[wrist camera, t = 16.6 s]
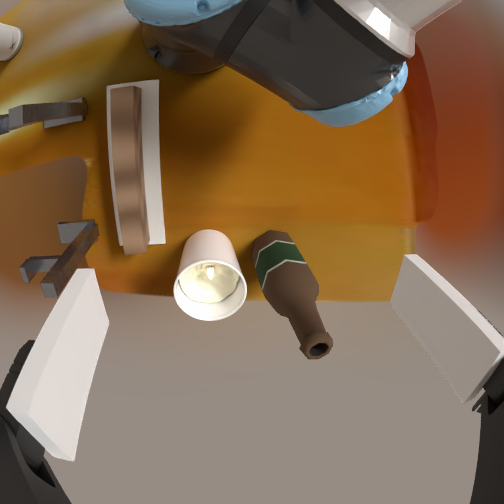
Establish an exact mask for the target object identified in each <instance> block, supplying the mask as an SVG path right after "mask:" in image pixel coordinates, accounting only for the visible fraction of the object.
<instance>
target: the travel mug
mask: <svg viewBox="0 0 504 504" xmlns="http://www.w3.org/2000/svg"><path fill="white" fill-rule="evenodd" d="M23 36H24V35H23V31H22V30H21V29H20V28H17V27H13V26H10V25H6V24H3V23H0V60H2V61H6V60H9V59H11V58H12V57H13V56H15V55H16V53H17V52H18V51H19V49H20V47H21V45H22V42H23Z"/></svg>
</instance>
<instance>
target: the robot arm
mask: <svg viewBox="0 0 504 504" xmlns="http://www.w3.org/2000/svg"><path fill="white" fill-rule="evenodd" d="M460 1H462V0H124V3H125V5H126V8H127V9H128V10H129V12H130V13H132V15H133V17H135V18H137V20H138V21H139V22H140V23H141V24H142V39H143V43H144V46H145V48H146V50H147V52H148V54H149V55H150V56H151V57H152V58H153V59H154V60H155V61H156V62H157V63H158V64H159V65H161V66H162V67H164V68H165V69H167V70H170V71H172V72H175V73H180V74H187V75H196V74H203V73H208V72H211V71H214V70H217V69H219V68H221V67H223V66H224V65H226V66H227V67H229V68H231V69H233V70H235V71H237V72H239V73H240V74H242V75H244V76H246V77H247V78H249V79H251V80H253V81H254V82H256V83H258V84H260V85H261V86H263V87H265V88H266V89H268V90H270V91H271V92H273V93H274V94H276V95H278V96H279V97H281V98H282V99H284V100H286V101H287V102H289V104H290V106H292V107H293V108H294V109H295V110H297V111H300V112H302V113H306V114H307V115H309V116H310V117H312V118H313V119H315V120H317V121H318V122H320V123H322V124H325V125H328V126H332V127H344V126H350V125H353V124H356V123H359V122H362V121H364V120H366V119H368V118H370V117H372V116H373V115H375V114H376V113H378V112H379V111H381V110H382V109H384V108H385V107H386V106H387V105H388V104H389V103H390V102H391V101H392V100H393V99H392V96H393V95H394V94H397V93H400V91H401V90H402V88H403V86H404V85H405V82H406V79H407V75H408V69H407V65H406V62H405V61H406V60H408V59H409V58H410V57H412V56H413V55H414V46H415V39H414V38H415V33H416V31H417V30H419V29H420V28H422V27H423V26H424V25H426V24H427V23H429V22H430V21H432V20H433V19H435V18H436V17H438V16H439V15H441V14H442V13H444V12H445V11H446V10H448V9H450V8H451V7H453V6H454V5H456V4H457V3H459V2H460ZM389 304H390V305H391V307H392V308H393V309H394V310H395V312H396V313H397V314H398V316H399V317H400V318H401V319H402V321H403V322H404V323H405V325H406V326H407V327H408V328H409V330H410V331H411V332H412V334H413V335H414V336H415V338H416V339H417V340H418V342H419V343H420V344H421V346H422V347H423V348H424V350H425V351H426V352H427V354H428V355H429V356H430V358H431V359H432V360H433V362H434V363H435V365H436V366H437V367H438V369H439V370H440V371H441V373H442V374H443V376H444V377H445V379H446V380H447V382H448V383H449V384H450V386H451V387H452V389H453V390H454V392H455V393H456V395H457V396H458V398H459V399H460V401H461V402H462V403H463V404H464V403H466V402H468V401H470V400H471V399H473V398H475V396H476V395H477V394H478V393H479V391H480V390H481V389H482V388H484V390H485V392H484V394H483V395H482V396H481V397H480V399H479V400H478V401H477V402H476V404H475V405H474V406H473V408H472V411H474V410H475V409H476V408H477V407H478V406H479V405H480V404H481V406H480V408H479V409H478V410H477V412H479V413H481V430H480V443H479V453H478V462H477V468H476V475H475V481H474V486H473V492H472V496H471V501H470V504H504V337H503V336H502V335H501V333H500V332H499V331H498V330H497V329H496V328H495V327H494V326H492V324H491V323H490V322H489V321H488V320H486V318H485V317H484V316H483V315H482V313H480V311H478V310H477V309H475V308H474V307H473V306H472V305H471V304H470V303H469V302H468V301H467V300H466V299H465V298H464V297H463V296H462V295H461V294H460V293H459V292H458V291H457V290H456V289H455V288H453V286H452V285H450V284H449V283H448V282H447V281H446V280H445V279H444V278H443V277H442V276H441V275H439V274H438V273H437V272H436V271H435V270H434V269H433V268H432V267H431V266H429V265H428V264H427V263H426V262H425V261H424V260H423V259H421V258H420V257H419V256H418V255H417V254H411V255H404V258H403V262H402V265H401V269H400V272H399V275H398V279H397V282H396V285H395V288H394V291H393V294H392V297H391V300H390V303H389ZM108 326H109V321H108V317H107V314H106V311H105V308H104V304H103V301H102V297H101V294H100V290H99V286H98V283H97V279H96V275H95V271H94V268H93V269H77V270H76V272H75V273H74V275H73V276H72V278H71V280H70V281H69V283H68V284H67V286H66V288H65V289H64V291H63V293H62V294H61V296H60V298H59V299H58V301H57V303H56V304H55V306H54V308H53V310H52V312H51V313H50V315H49V317H48V318H47V320H46V322H45V324H44V326H43V328H42V329H41V331H40V333H39V335H38V337H37V339H36V341H34V340H29V341H28V342H27V343H26V344H25V345H24V346H23V347H22V348H21V349H20V350H19V352H18V354H17V355H16V358H15V359H14V364H12V366H11V368H10V370H9V373H8V374H7V376H6V378H5V381H4V383H3V385H2V388H1V390H0V504H71V502H70V500H69V499H68V497H67V496H66V494H65V492H64V491H63V489H62V487H61V486H60V484H59V482H58V480H57V479H56V477H55V475H54V473H53V471H52V469H51V468H50V466H49V464H48V462H47V461H46V459H45V458H44V457H43V455H44V451H45V449H46V450H47V451H48V452H49V453H50V454H51V455H52V456H53V457H56V458H60V459H65V460H69V461H74V460H75V454H76V448H77V443H78V438H79V433H80V428H81V424H82V419H83V414H84V410H85V406H86V402H87V397H88V394H89V390H90V386H91V382H92V379H93V375H94V371H95V368H96V364H97V361H98V357H99V354H100V351H101V348H102V344H103V341H104V338H105V335H106V332H107V329H108Z"/></svg>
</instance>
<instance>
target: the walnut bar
mask: <svg viewBox="0 0 504 504" xmlns="http://www.w3.org/2000/svg"><path fill="white" fill-rule="evenodd" d="M110 108H111V140H112V156H113V169H114V180H115V190H116V199H117V207H118V215H119V222H120V229H121V235H122V242H123V248H124V253H125V255H127V254H145V252H146V249H147V246H148V244H149V241H150V235H149V226H148V217H147V206H146V195H145V183H144V168H143V149H142V88H139V87H136V86H127V87H119V88H113V89H110Z"/></svg>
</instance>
